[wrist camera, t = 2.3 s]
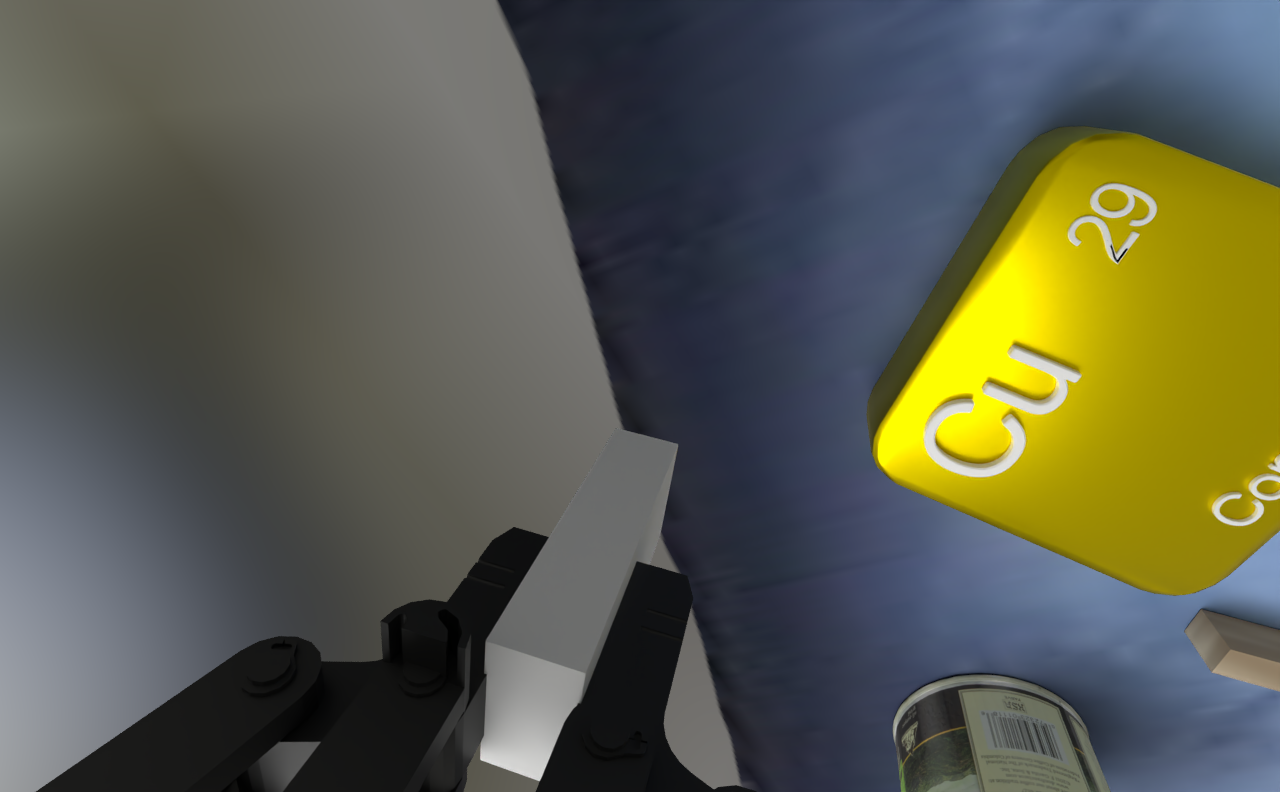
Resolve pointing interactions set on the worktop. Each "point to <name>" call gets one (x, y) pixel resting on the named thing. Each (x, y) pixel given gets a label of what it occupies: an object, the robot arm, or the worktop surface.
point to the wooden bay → (1237, 648)
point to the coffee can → (993, 739)
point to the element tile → (1102, 363)
